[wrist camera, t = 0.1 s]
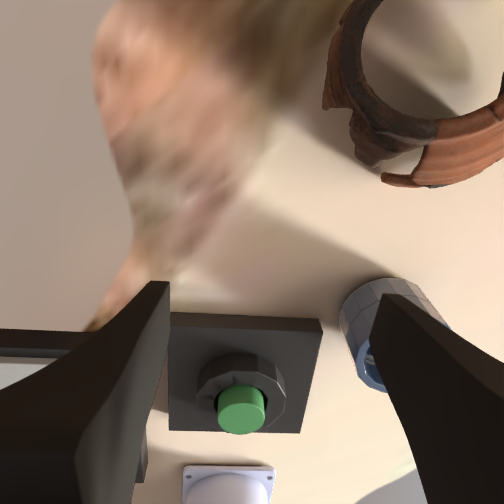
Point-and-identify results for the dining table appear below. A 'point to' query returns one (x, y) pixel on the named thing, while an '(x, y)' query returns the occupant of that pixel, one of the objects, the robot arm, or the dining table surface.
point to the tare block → (240, 367)
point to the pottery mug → (406, 118)
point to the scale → (44, 362)
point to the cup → (362, 317)
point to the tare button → (240, 409)
